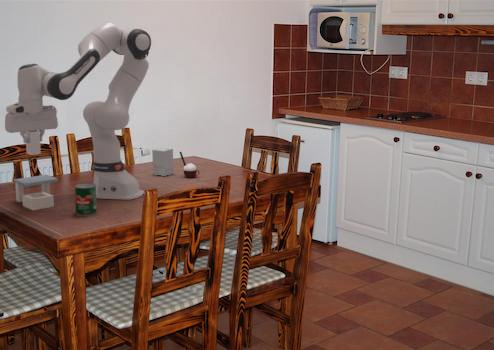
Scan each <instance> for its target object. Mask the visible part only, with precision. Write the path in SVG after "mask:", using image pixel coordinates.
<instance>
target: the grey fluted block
mask: <svg viewBox="0 0 494 350" xmlns="http://www.w3.org/2000/svg"><path fill="white" fill-rule="evenodd" d="M151 151H152V176H157V175H161V176H160V177H163V176H165V177H167V176H166V175H169V176H171V175H170V174H173V175H174V150H173V148H165V147H159V148H154V149H152V150H151Z"/></svg>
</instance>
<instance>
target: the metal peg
mask: <svg viewBox="0 0 494 350" xmlns="http://www.w3.org/2000/svg"><path fill="white" fill-rule="evenodd" d="M24 135H25V136H26V138H29V143H25V146H26V148H25V150H26V154H27V155H30V156H36V155H41V154H42V153H41V150H42V149H41V142H40V131H39V130H36V131H26V134H24Z"/></svg>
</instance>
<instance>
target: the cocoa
mask: <svg viewBox="0 0 494 350" xmlns="http://www.w3.org/2000/svg"><path fill="white" fill-rule="evenodd" d="M179 156H180V158H181V160H182V163H183V165H184V166H183V175H184V177H185V176H186V178H187V177H193V178H194V176H195V177H197V176H198V175H199V174H200V170H198V169H197V166H196V165H195V164H193V163H191V162H190V163H186V161H185V159H184V156H183V153H182V151H179ZM197 172H198V173H197Z"/></svg>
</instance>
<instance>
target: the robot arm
mask: <svg viewBox="0 0 494 350" xmlns="http://www.w3.org/2000/svg"><path fill="white" fill-rule="evenodd" d="M151 46H152V37H151V36H150V34H149V33H148V32H147V31H145V30H143V29H141V28H125V29H120V28H119V27H118V26H117V25H116V24H115V23H113V22H109V21H107V22H104V23H102V24H100V25H98V26H97V27H96V28H94V29H93V30H91V31H90V32H89V33H87V34H86V35H85V36H84V37H83V38H82V39H81V41H79V43H78V45H77V51H78V54H79V58H78V59H77V60H76V61H75V62H74V63H73V64H72V66H70V68H68V70H66V71H64V72H63V71H62V72H58V73H57V72H53V71H50V70H47V69H45V68H43V67H42V66H40V65H39V64H37V63H28V64H23V65H22V66H20V67H19V68H18V71H17V89H18V101H17V102H16V103H13V104H11V105H8V106H6V108H5V109H6V112H7V113H6V114H5V117H4V118H5V119H4V128H5V129H4V130H5V131H6V132H7V133H9V134H15V133H19V135H20V136H21V138H22V139H23V143H24V144H26V143H29V138H26V135H25V134H26V131H36V130H37V131H40V143H41V142H43V137H44V135H45V132H46V131H45V130H55V129H57V128H58V126H59V121H58V116H57V112H58V111H57V108H56V107H55V106H54V105H51V104H50V105H44V102H43V101H44V100H43V98H44V97H49V98H52V99H53V98H54V99H56V100H59V101H65V100H68V99H70V98H71V97H72V96H73V95H74V94H75V92H76V90H77V88H78V86H79V85H80V83H81V82H82V81H83V80H84V79H85V78H86V77H87V76H88V75H89V74H90V73H91V72H92V71H93V70H94V68H96V66H97V65H98V64H99V63H100V62H101V61H102V60H103V59H104V58H105V57H107V55H109V54H110V53H111V52H113V53H114V54H117V55H119V56H123V61H122V64H121V65H120V67H119V68H118V69H117V71H116V72H115V74H114V77H113V78H112V79H111V81H110V83H108V95H107V98H106V100H105V101H101V100H100V101H99V100H98V101H93V102H90V103H87V104H86V105H85V106H84V109H83V110H82V115H83V119H84V121H85V122H86V124H87V126H88V131H89V133H90V137H91V140H92V146H93V161H92V170H93V184H96V199H103V200H124V201H125V200H135V199H139V198H140V197H142V196H144V195H145V191H144V190H142V189H140V186H139V182H138V180H137V179H136V177H134V176H133V175H132V174H130V173H129V172H128V171H127V170H126V169H125V167H126V166H127V162H124V163H123V162H122V160H121V142H120V140H119V139H118V136H117V135H116V132H115V131H120V130H123V129H126V127H127V126H128V124H129V122H130V114H129V109H130V105H131V103H132V100H133V98H134V96H135V94H136V93H137V91H138V90H139V88H140V86H141V85H142V82H144V79H145V77H146V74H147V72H148V70H149V67H150V65H149V61H148V59H147V57H148V56H149V53H150V50H151ZM143 194H144V195H143Z"/></svg>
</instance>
